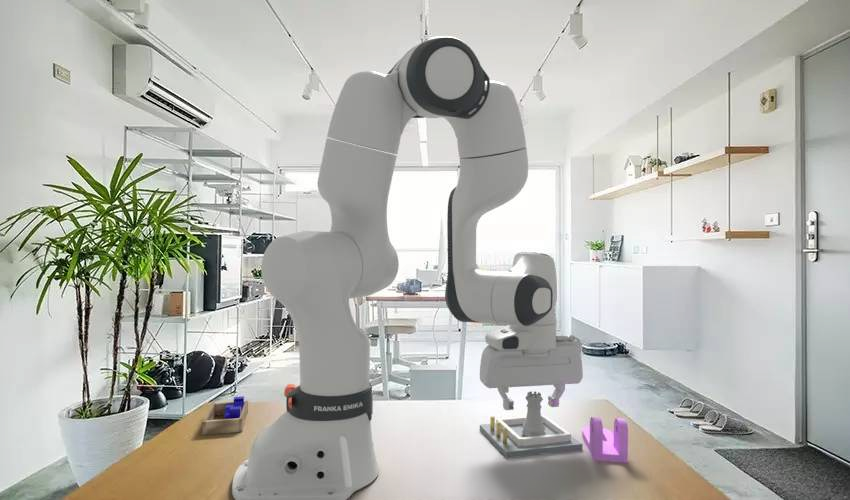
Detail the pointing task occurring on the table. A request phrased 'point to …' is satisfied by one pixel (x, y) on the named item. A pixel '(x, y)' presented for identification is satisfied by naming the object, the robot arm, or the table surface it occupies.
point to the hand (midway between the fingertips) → (531, 407)
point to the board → (515, 444)
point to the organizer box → (223, 420)
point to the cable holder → (234, 408)
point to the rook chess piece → (533, 416)
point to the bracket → (607, 440)
